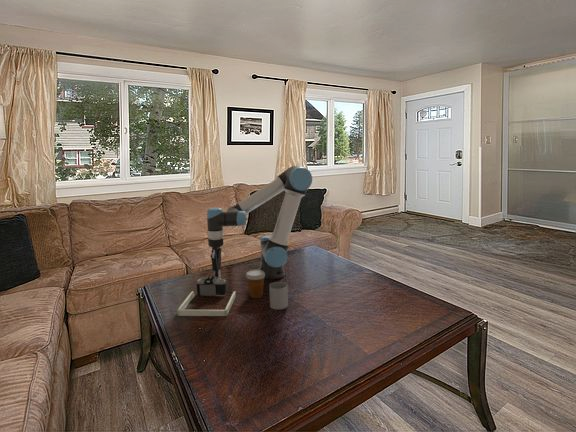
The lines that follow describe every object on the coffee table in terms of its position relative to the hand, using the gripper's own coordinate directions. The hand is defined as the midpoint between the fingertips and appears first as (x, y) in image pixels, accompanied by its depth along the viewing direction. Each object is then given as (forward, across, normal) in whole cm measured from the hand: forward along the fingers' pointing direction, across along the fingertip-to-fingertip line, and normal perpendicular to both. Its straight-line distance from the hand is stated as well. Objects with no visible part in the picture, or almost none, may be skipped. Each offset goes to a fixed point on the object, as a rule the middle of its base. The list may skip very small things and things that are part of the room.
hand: (217, 281), depth 183 cm
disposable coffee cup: (+4, +8, +22) cm, 24 cm away
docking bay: (+4, +20, +1) cm, 20 cm away
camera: (+4, +6, -1) cm, 7 cm away
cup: (+4, +19, +34) cm, 39 cm away
